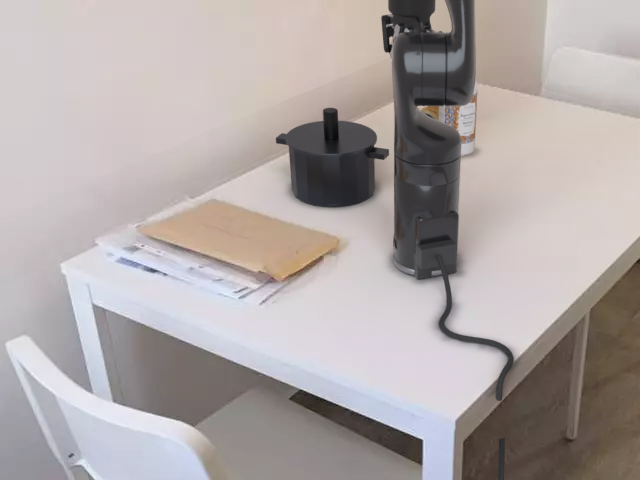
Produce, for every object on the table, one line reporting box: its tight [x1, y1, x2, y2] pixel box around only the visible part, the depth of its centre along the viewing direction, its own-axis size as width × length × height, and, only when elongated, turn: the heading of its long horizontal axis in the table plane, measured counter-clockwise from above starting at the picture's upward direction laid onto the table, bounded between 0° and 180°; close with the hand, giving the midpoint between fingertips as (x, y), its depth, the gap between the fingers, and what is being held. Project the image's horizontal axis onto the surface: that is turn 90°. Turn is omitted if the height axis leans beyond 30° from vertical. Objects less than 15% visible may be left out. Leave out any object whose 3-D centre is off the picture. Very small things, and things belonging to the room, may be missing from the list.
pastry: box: [420, 106, 439, 121], centre depth 177 cm, size 9×7×4 cm
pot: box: [275, 132, 390, 208], centre depth 148 cm, size 14×19×9 cm
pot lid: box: [286, 107, 378, 157], centre depth 144 cm, size 15×15×6 cm
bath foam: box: [439, 78, 478, 157], centre depth 161 cm, size 7×7×20 cm
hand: (411, 86), depth 147 cm, fingers closed on tomato can, 6 cm apart
